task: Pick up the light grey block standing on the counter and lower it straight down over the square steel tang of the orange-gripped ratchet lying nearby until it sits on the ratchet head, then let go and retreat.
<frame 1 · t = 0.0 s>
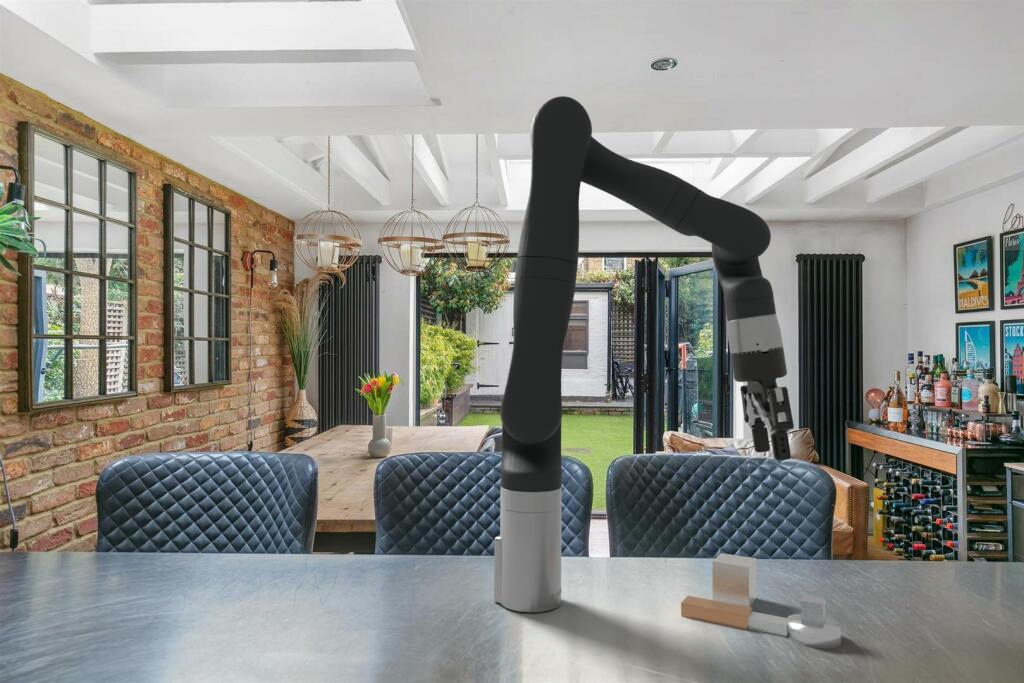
hand: (772, 455, 99), 22 cm above the kitchen island counter, tool pointing down, fingers open, 8 cm apart
ratchet: (813, 638, 86), on the kitchen island counter
light grey block: (734, 599, 100), on the kitchen island counter
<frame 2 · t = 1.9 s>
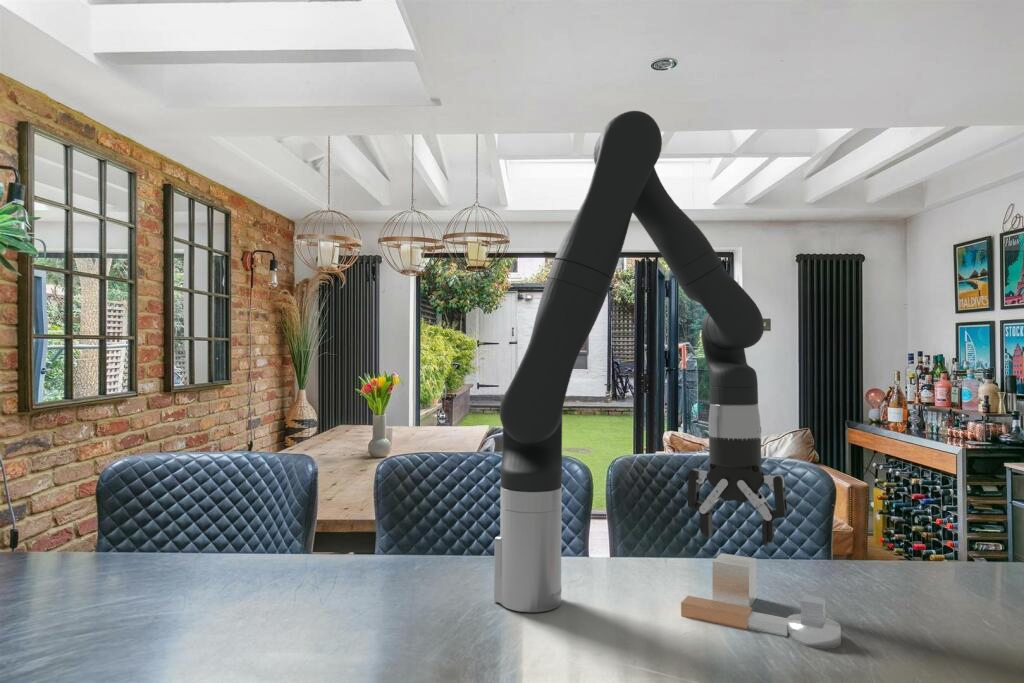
hand: (736, 541, 100), 9 cm above the kitchen island counter, tool pointing down, fingers open, 8 cm apart
nothing on the kitchen island counter moved.
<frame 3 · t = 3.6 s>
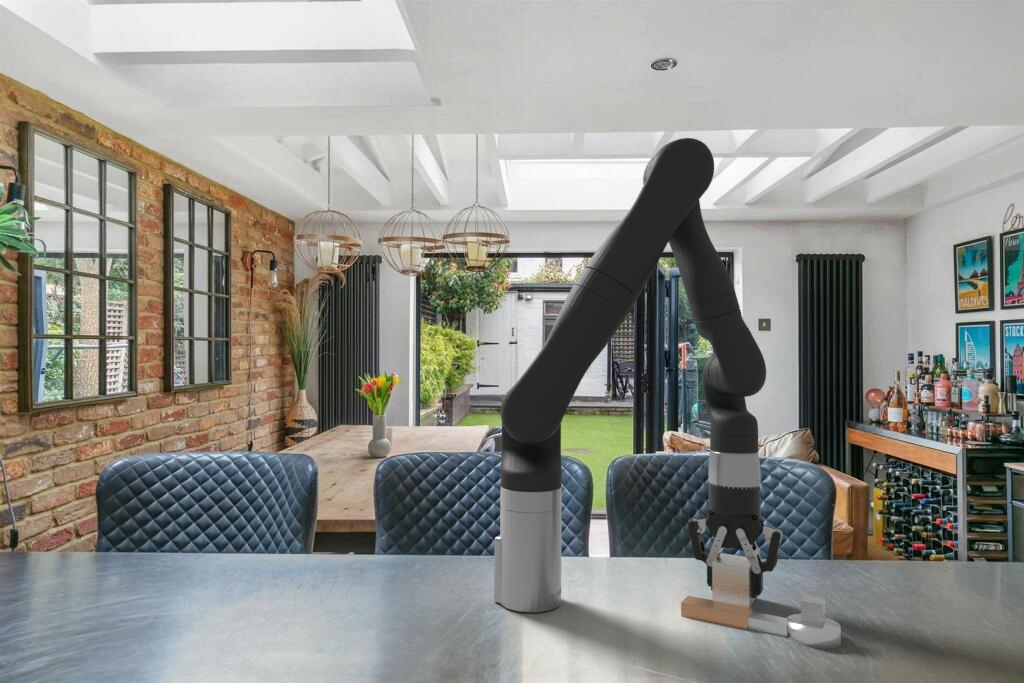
hand: (734, 592, 100), 1 cm above the kitchen island counter, tool pointing down, fingers closed on light grey block, 5 cm apart
light grey block: (734, 599, 100), on the kitchen island counter, touching gripper
everything else where it was.
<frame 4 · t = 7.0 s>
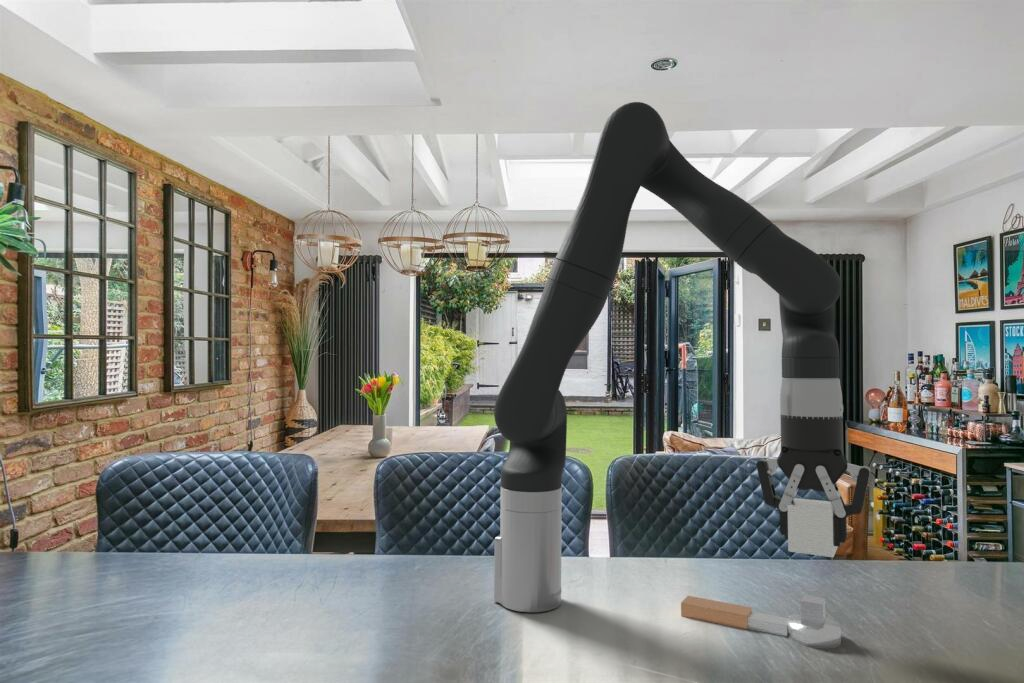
hand: (813, 541, 87), 12 cm above the kitchen island counter, tool pointing down, fingers closed on light grey block, 5 cm apart
light grey block: (813, 549, 87), point 11 cm above the kitchen island counter, touching gripper
everything else where it was.
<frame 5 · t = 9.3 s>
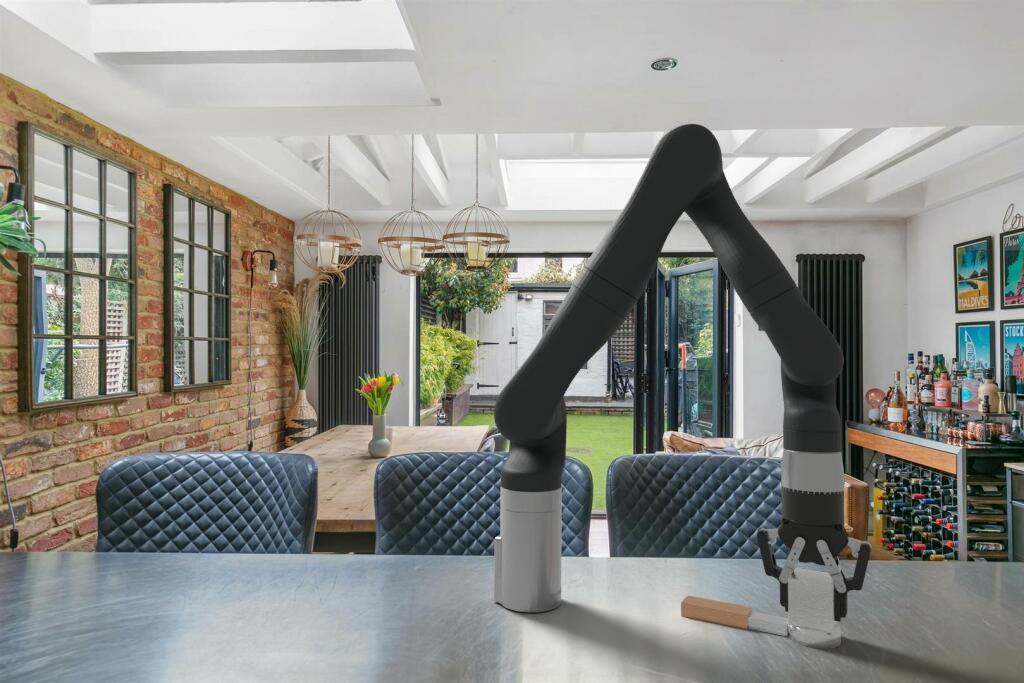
hand: (813, 614, 86), 3 cm above the kitchen island counter, tool pointing down, fingers closed on light grey block, 5 cm apart
ratchet: (813, 638, 86), on the kitchen island counter, touching light grey block
light grey block: (813, 622, 86), point 2 cm above the kitchen island counter, touching gripper, ratchet
when the fingers open (3 cm above the kitchen island counter, at t = 10.6 s): light grey block stays where it is, resting on ratchet.
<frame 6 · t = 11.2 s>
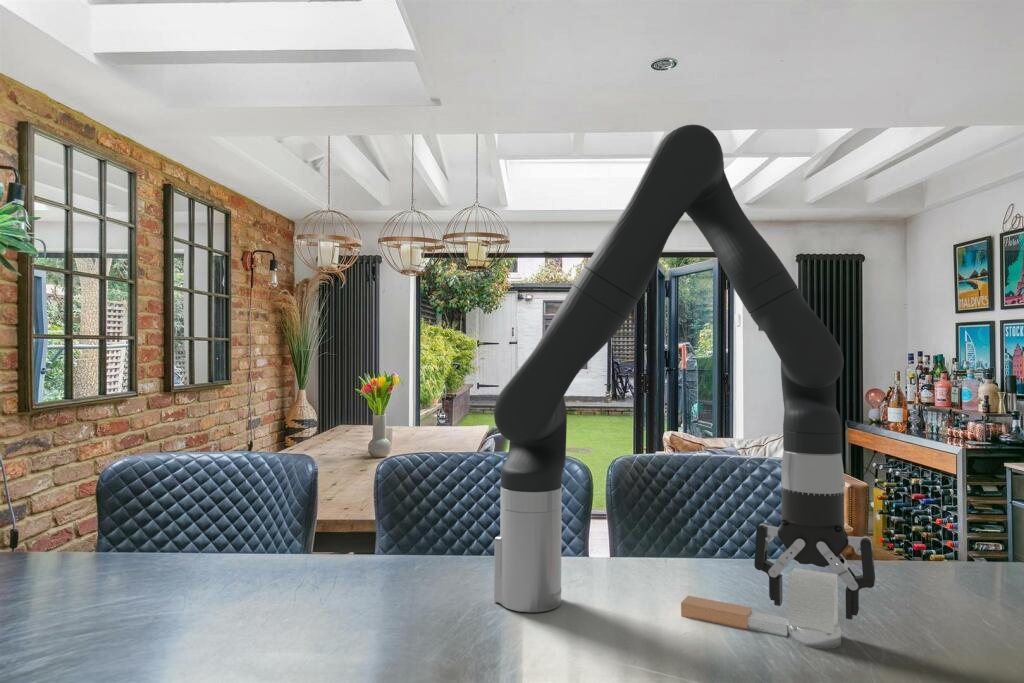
hand: (813, 610, 86), 4 cm above the kitchen island counter, tool pointing down, fingers open, 8 cm apart
light grey block: (813, 622, 86), point 2 cm above the kitchen island counter, touching ratchet
everything else where it was.
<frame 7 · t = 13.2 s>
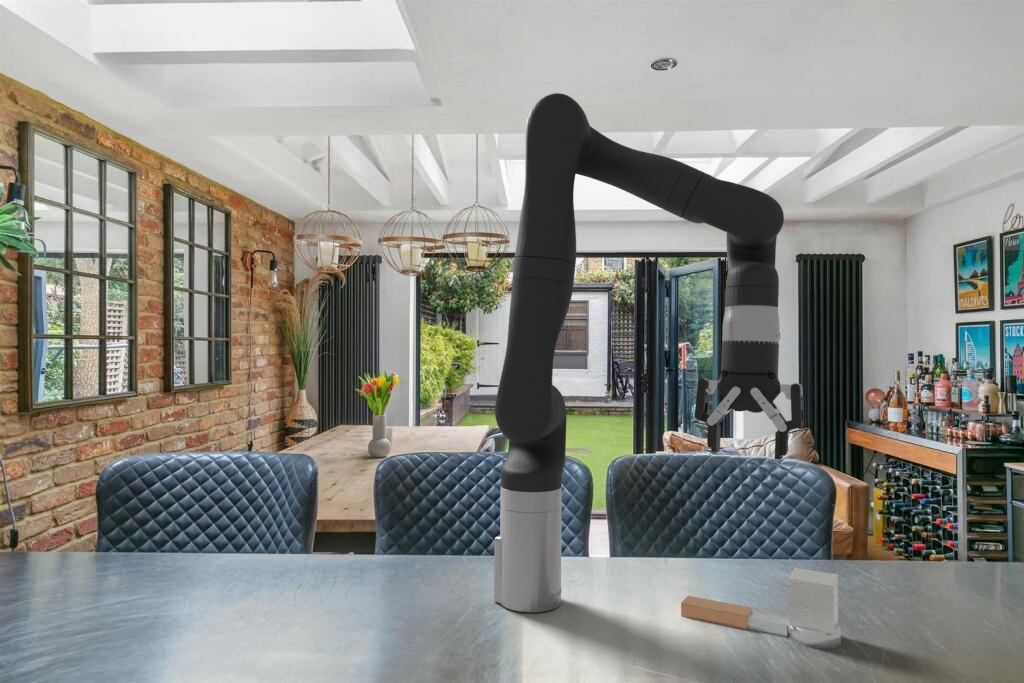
hand: (746, 455, 92), 23 cm above the kitchen island counter, tool pointing down, fingers open, 8 cm apart
nothing on the kitchen island counter moved.
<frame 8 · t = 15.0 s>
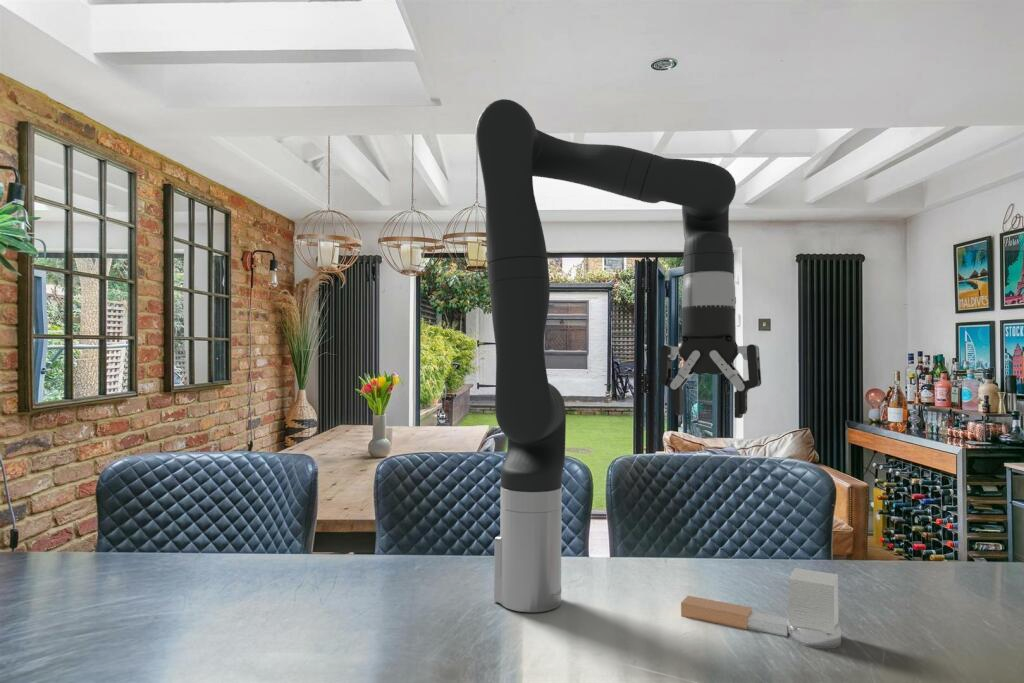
hand: (708, 416, 96), 28 cm above the kitchen island counter, tool pointing down, fingers open, 8 cm apart
nothing on the kitchen island counter moved.
at the end: light grey block 0.1 cm off-centre on the ratchet, point 2.0 cm above the ratchet's base; the gripper is holding nothing; ratchet moved 0.1 cm from its start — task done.
